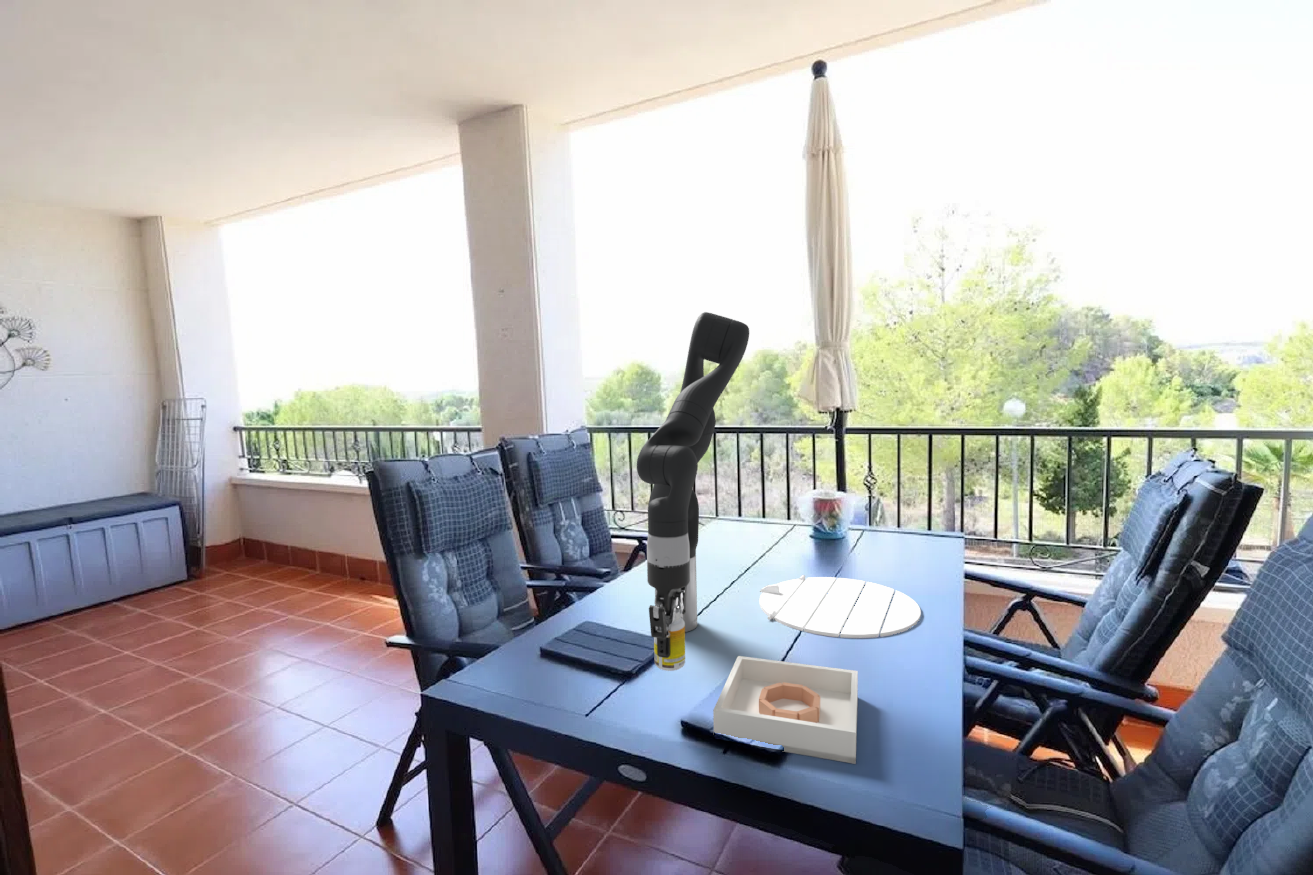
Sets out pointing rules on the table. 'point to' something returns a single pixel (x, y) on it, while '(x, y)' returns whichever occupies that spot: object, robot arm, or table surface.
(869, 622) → the white round slatted board
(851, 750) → the walled box
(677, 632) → the supplement bottle
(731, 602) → the table surface
